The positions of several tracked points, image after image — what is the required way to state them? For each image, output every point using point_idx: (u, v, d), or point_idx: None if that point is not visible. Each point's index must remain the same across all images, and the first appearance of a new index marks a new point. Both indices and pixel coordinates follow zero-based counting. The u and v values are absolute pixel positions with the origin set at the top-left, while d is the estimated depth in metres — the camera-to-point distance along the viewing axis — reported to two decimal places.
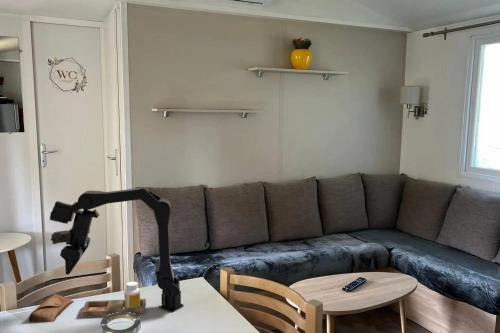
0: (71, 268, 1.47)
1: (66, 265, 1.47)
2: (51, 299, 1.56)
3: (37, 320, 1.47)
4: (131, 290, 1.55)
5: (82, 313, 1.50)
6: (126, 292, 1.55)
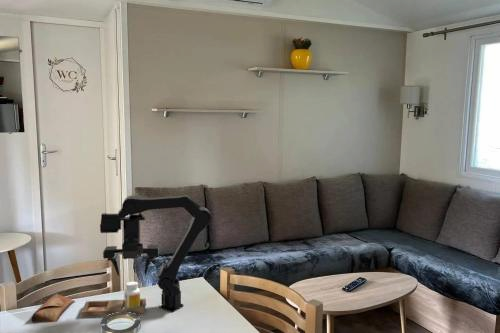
0: None
1: (148, 265, 1.56)
2: (53, 299, 1.56)
3: (40, 320, 1.46)
4: (131, 290, 1.55)
5: (82, 313, 1.50)
6: (126, 292, 1.55)
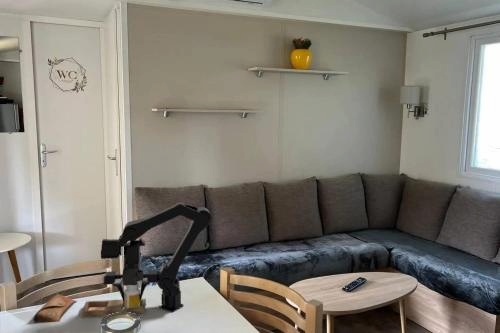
0: None
1: (143, 291, 1.57)
2: (54, 299, 1.56)
3: (43, 320, 1.46)
4: (131, 290, 1.55)
5: (82, 313, 1.50)
6: (126, 292, 1.55)
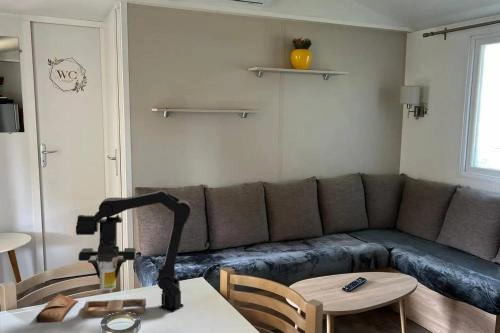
0: None
1: (119, 269, 1.54)
2: (56, 299, 1.56)
3: (45, 320, 1.46)
4: (107, 267, 1.53)
5: (82, 313, 1.50)
6: (101, 269, 1.52)
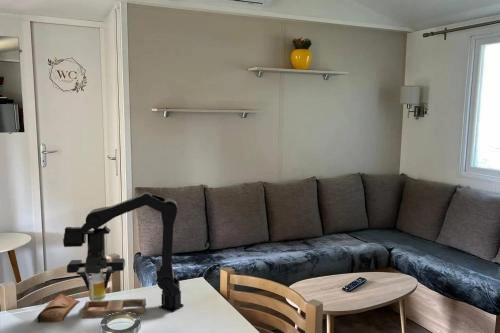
0: (108, 280, 1.56)
1: (108, 280, 1.54)
2: (58, 299, 1.56)
3: (46, 320, 1.46)
4: (96, 279, 1.52)
5: (82, 313, 1.50)
6: (90, 281, 1.52)
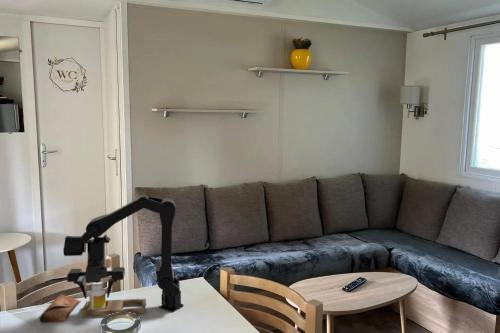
0: None
1: None
2: (59, 299, 1.56)
3: (49, 320, 1.46)
4: (96, 291, 1.53)
5: (82, 313, 1.50)
6: (91, 293, 1.53)
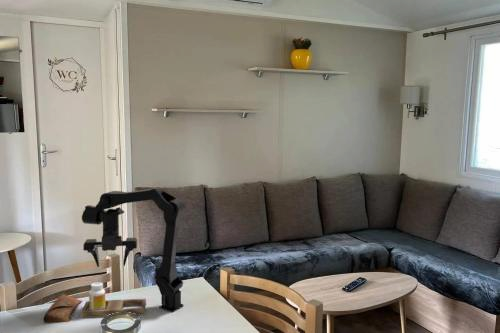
0: None
1: None
2: (61, 299, 1.56)
3: (52, 320, 1.46)
4: (96, 291, 1.53)
5: (82, 313, 1.50)
6: (90, 293, 1.53)
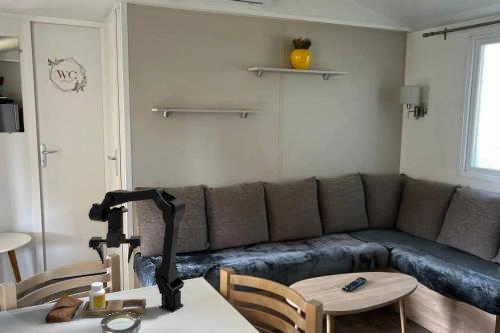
0: None
1: None
2: (63, 299, 1.56)
3: (54, 320, 1.46)
4: (96, 291, 1.53)
5: (82, 313, 1.50)
6: (90, 293, 1.53)
